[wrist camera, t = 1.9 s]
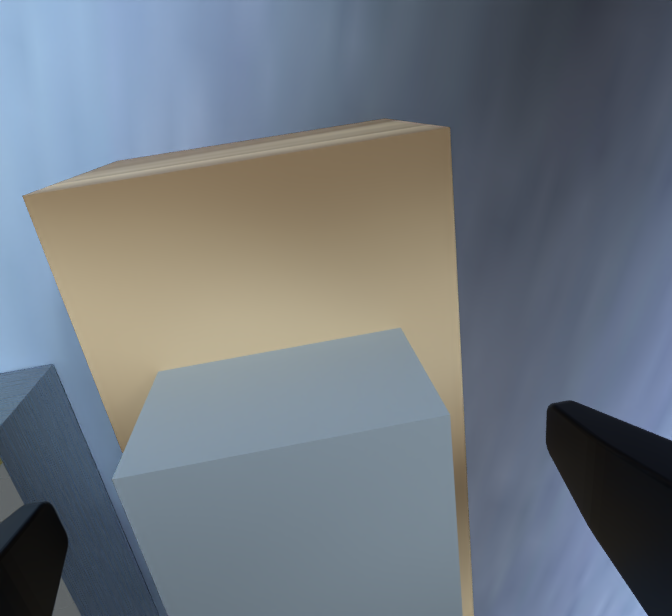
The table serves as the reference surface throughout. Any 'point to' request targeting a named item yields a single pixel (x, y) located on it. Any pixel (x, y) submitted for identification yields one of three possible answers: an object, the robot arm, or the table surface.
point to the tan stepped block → (263, 260)
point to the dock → (66, 496)
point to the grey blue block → (297, 484)
